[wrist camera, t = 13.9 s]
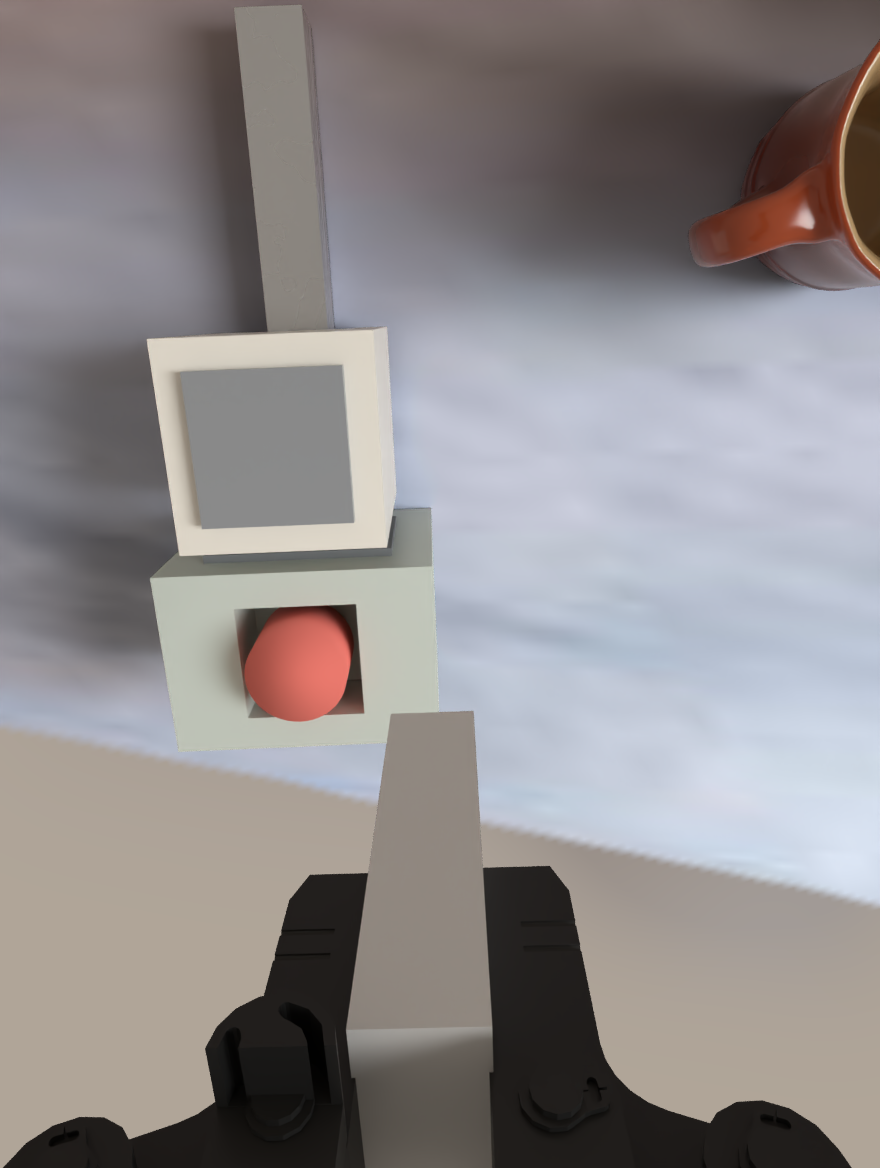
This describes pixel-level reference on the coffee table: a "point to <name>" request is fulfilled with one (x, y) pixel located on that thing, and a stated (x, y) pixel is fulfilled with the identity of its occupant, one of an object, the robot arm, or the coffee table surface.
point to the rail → (286, 165)
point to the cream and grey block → (277, 439)
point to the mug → (810, 191)
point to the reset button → (300, 662)
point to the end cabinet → (291, 579)
